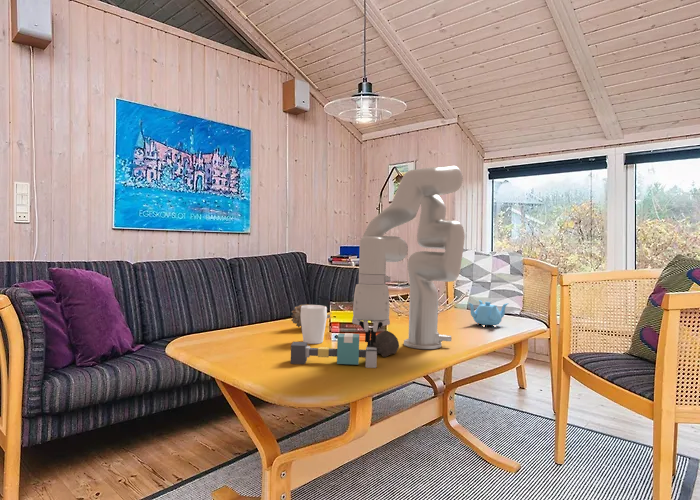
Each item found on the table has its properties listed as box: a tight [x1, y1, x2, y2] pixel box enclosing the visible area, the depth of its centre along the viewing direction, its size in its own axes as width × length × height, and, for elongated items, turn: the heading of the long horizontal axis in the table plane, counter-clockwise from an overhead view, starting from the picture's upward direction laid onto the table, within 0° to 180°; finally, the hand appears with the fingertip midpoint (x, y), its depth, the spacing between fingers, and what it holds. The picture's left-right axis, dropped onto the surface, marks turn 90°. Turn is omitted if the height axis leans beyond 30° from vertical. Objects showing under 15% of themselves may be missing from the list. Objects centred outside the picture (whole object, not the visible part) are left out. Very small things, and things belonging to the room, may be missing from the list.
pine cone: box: [290, 303, 331, 329], centre depth 184 cm, size 22×10×10 cm, turn 136°
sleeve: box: [336, 332, 360, 365], centre depth 133 cm, size 6×5×8 cm
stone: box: [366, 330, 400, 358], centre depth 146 cm, size 10×8×10 cm
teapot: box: [468, 299, 509, 326], centre depth 198 cm, size 13×13×10 cm
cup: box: [300, 304, 328, 345], centre depth 160 cm, size 9×9×12 cm
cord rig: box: [290, 341, 378, 369], centre depth 133 cm, size 24×7×5 cm, turn 88°
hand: (370, 344), depth 133 cm, fingers closed
